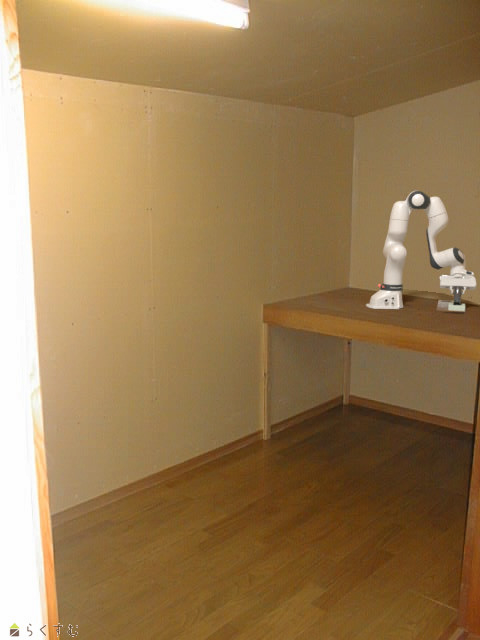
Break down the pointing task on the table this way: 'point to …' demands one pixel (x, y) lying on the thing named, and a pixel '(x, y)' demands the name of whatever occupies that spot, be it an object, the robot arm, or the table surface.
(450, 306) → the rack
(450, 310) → the tool board
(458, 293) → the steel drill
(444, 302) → the socket
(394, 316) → the table surface
